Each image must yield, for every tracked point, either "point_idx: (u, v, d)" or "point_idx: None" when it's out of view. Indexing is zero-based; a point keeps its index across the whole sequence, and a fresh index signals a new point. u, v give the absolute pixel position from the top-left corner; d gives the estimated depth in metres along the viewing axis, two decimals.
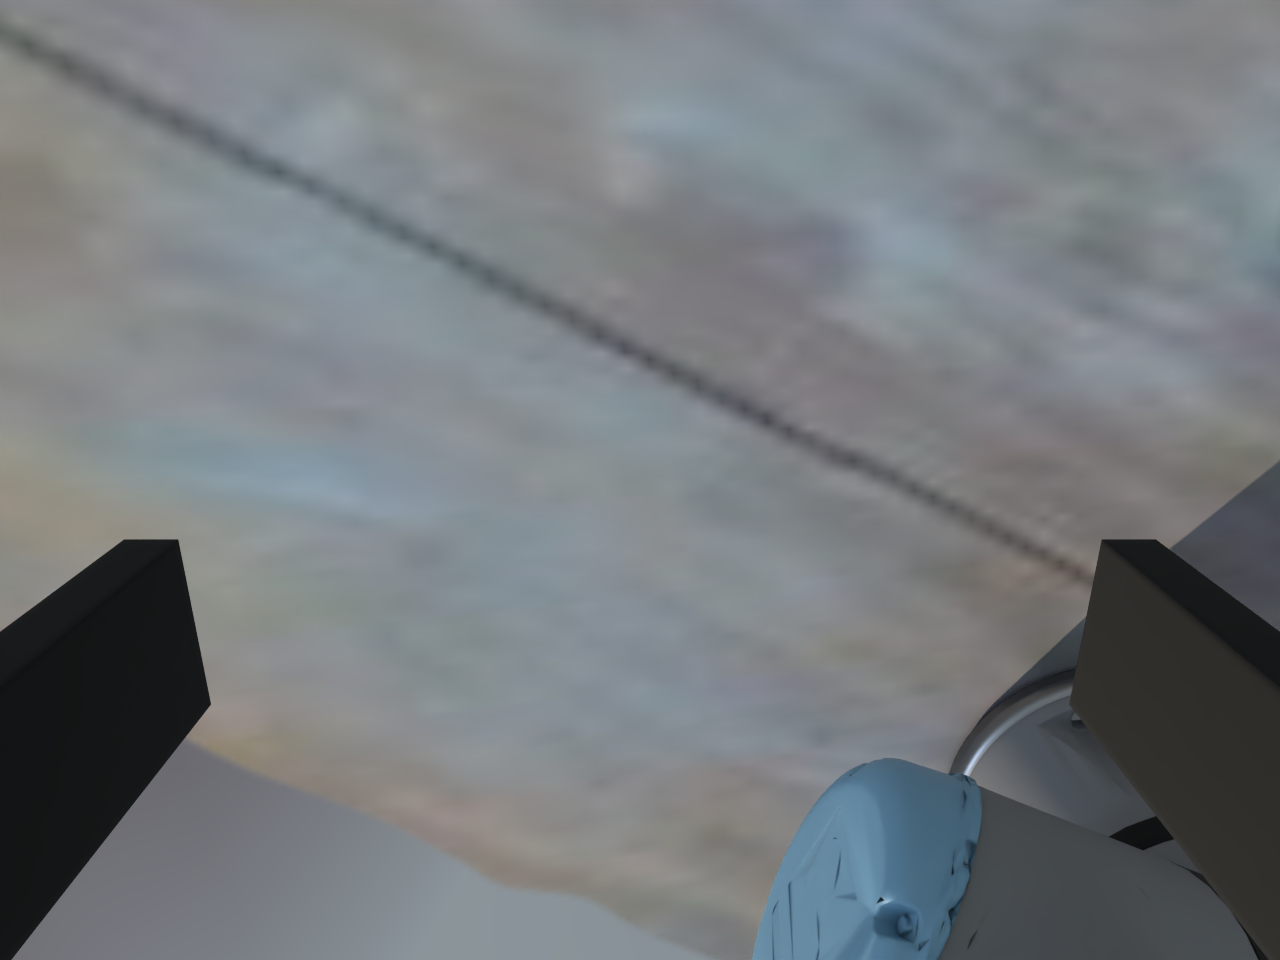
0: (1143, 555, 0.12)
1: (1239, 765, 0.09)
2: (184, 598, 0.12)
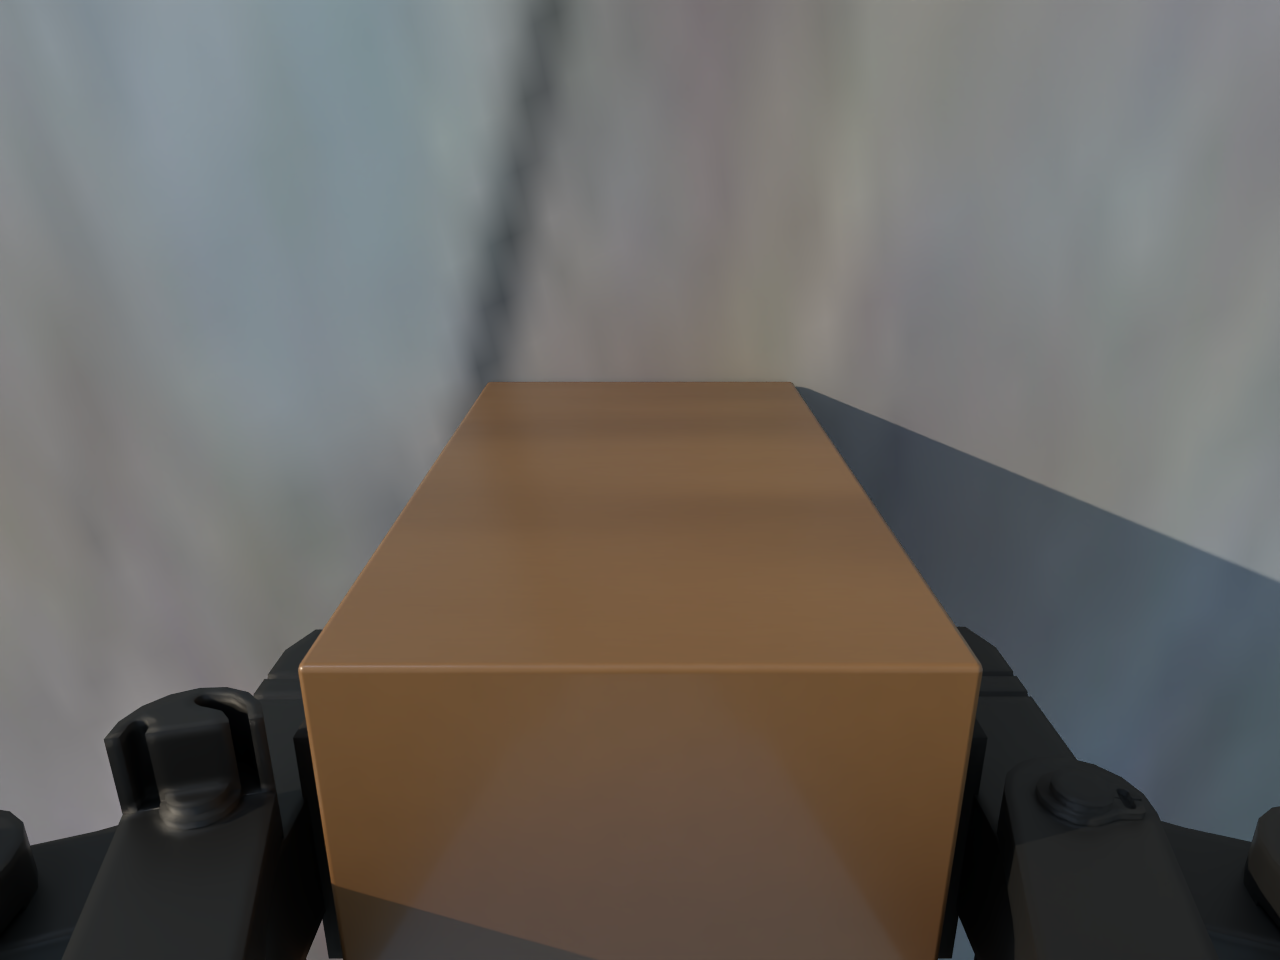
0: None
1: None
2: None
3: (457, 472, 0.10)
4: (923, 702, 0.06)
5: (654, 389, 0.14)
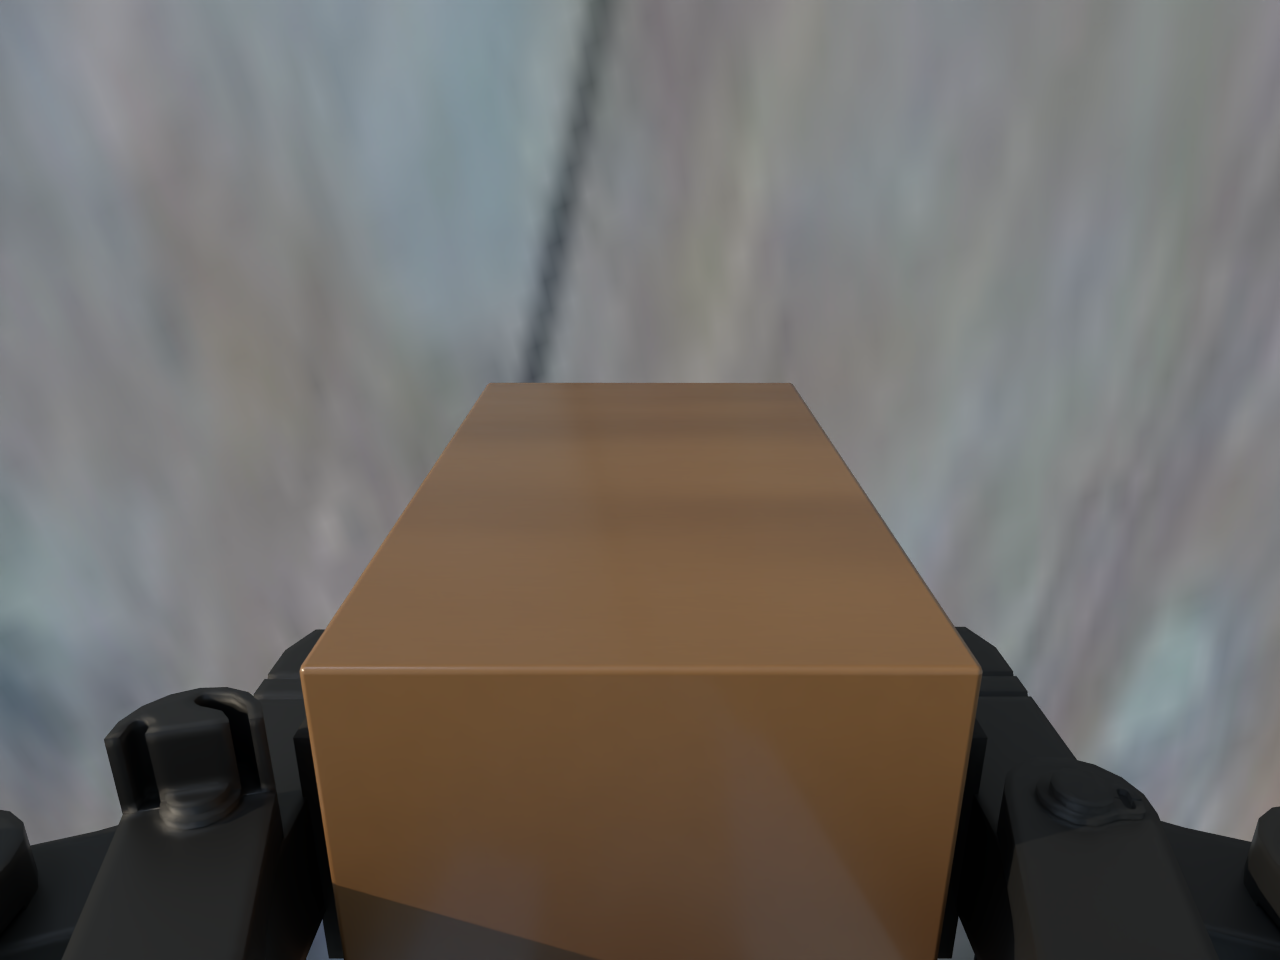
0: None
1: None
2: None
3: (458, 473, 0.10)
4: (923, 704, 0.06)
5: (653, 390, 0.14)
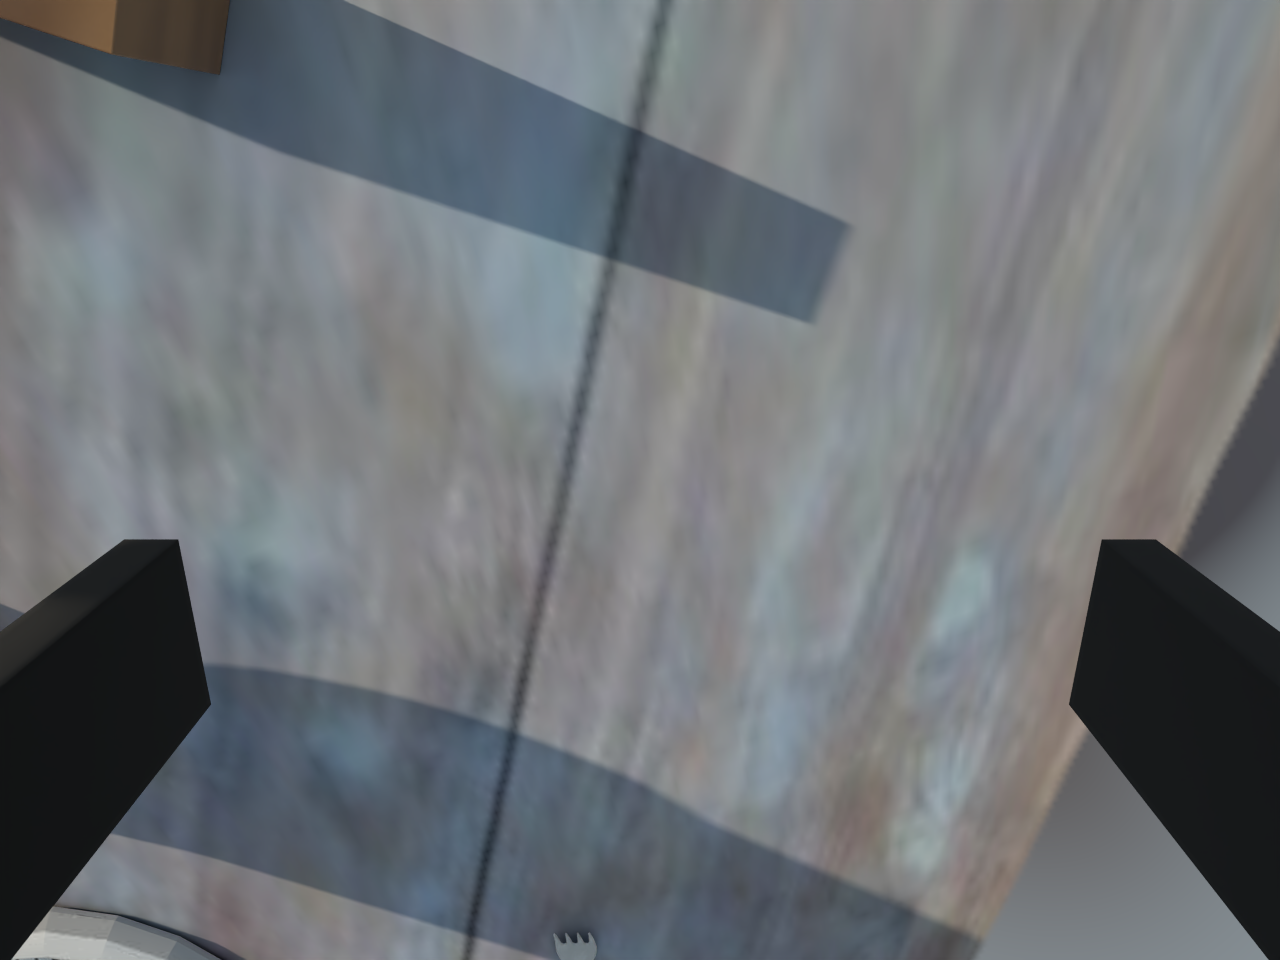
0: (1143, 555, 0.12)
1: (1239, 765, 0.09)
2: (184, 599, 0.12)
3: None
4: (104, 39, 0.30)
5: (221, 18, 0.37)
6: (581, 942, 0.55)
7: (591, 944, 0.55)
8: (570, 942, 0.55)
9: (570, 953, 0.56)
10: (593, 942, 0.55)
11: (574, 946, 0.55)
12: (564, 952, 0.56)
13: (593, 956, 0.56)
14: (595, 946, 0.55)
